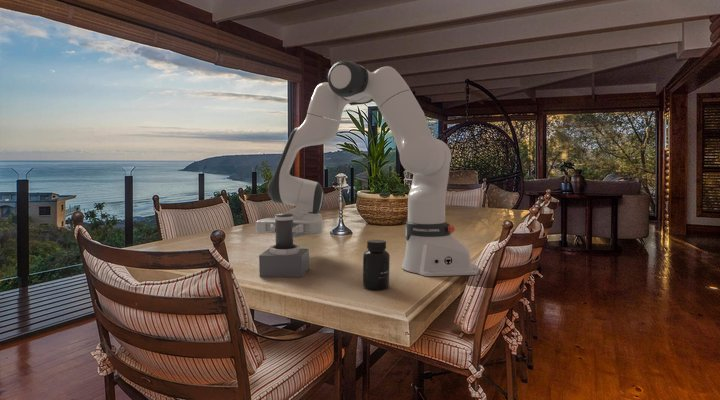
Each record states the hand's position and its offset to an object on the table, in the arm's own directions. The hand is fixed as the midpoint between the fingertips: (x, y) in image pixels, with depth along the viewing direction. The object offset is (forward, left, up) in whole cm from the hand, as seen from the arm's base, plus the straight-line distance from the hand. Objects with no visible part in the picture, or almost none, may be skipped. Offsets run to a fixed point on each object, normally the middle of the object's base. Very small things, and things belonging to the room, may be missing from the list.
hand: (283, 230), depth 121 cm
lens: (0, -1, -5) cm, 6 cm away
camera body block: (0, -1, -12) cm, 13 cm away
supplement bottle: (-27, +11, -13) cm, 32 cm away
